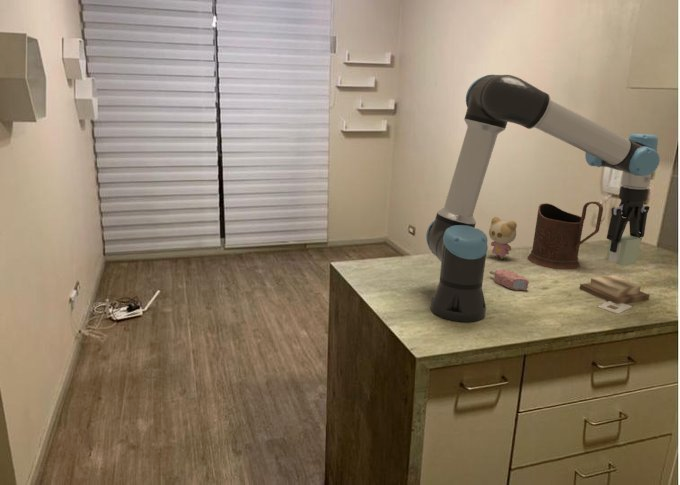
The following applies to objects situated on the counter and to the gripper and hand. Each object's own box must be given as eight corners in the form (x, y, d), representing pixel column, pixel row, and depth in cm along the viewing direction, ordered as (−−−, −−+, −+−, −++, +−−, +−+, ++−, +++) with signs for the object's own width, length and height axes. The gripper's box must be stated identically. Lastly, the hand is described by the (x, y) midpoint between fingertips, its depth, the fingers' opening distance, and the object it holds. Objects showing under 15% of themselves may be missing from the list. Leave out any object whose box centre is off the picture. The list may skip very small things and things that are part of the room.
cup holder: (547, 251, 213) (557, 188, 206) (604, 269, 194) (617, 201, 187) (516, 257, 203) (525, 192, 196) (574, 277, 184) (587, 205, 177)
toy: (481, 256, 202) (486, 217, 198) (494, 252, 208) (499, 214, 204) (504, 263, 195) (509, 223, 191) (517, 259, 201) (522, 220, 196)
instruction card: (618, 314, 155) (618, 312, 155) (597, 307, 159) (597, 305, 159) (631, 307, 160) (632, 305, 160) (611, 300, 165) (611, 299, 165)
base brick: (616, 305, 161) (619, 292, 160) (579, 288, 174) (581, 276, 172) (648, 299, 167) (651, 287, 166) (610, 283, 179) (612, 272, 178)
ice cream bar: (498, 265, 181) (533, 278, 169) (496, 277, 182) (531, 291, 170) (484, 267, 178) (519, 280, 166) (483, 279, 179) (518, 293, 167)
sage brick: (622, 265, 163) (627, 240, 161) (605, 259, 169) (610, 235, 166) (636, 263, 166) (641, 238, 164) (619, 257, 171) (623, 233, 169)
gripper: (623, 191, 154) (609, 267, 160) (667, 187, 161) (652, 261, 168) (601, 186, 160) (588, 260, 167) (645, 183, 168) (631, 254, 174)
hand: (620, 260), depth 167 cm, fingers closed on sage brick, 6 cm apart
